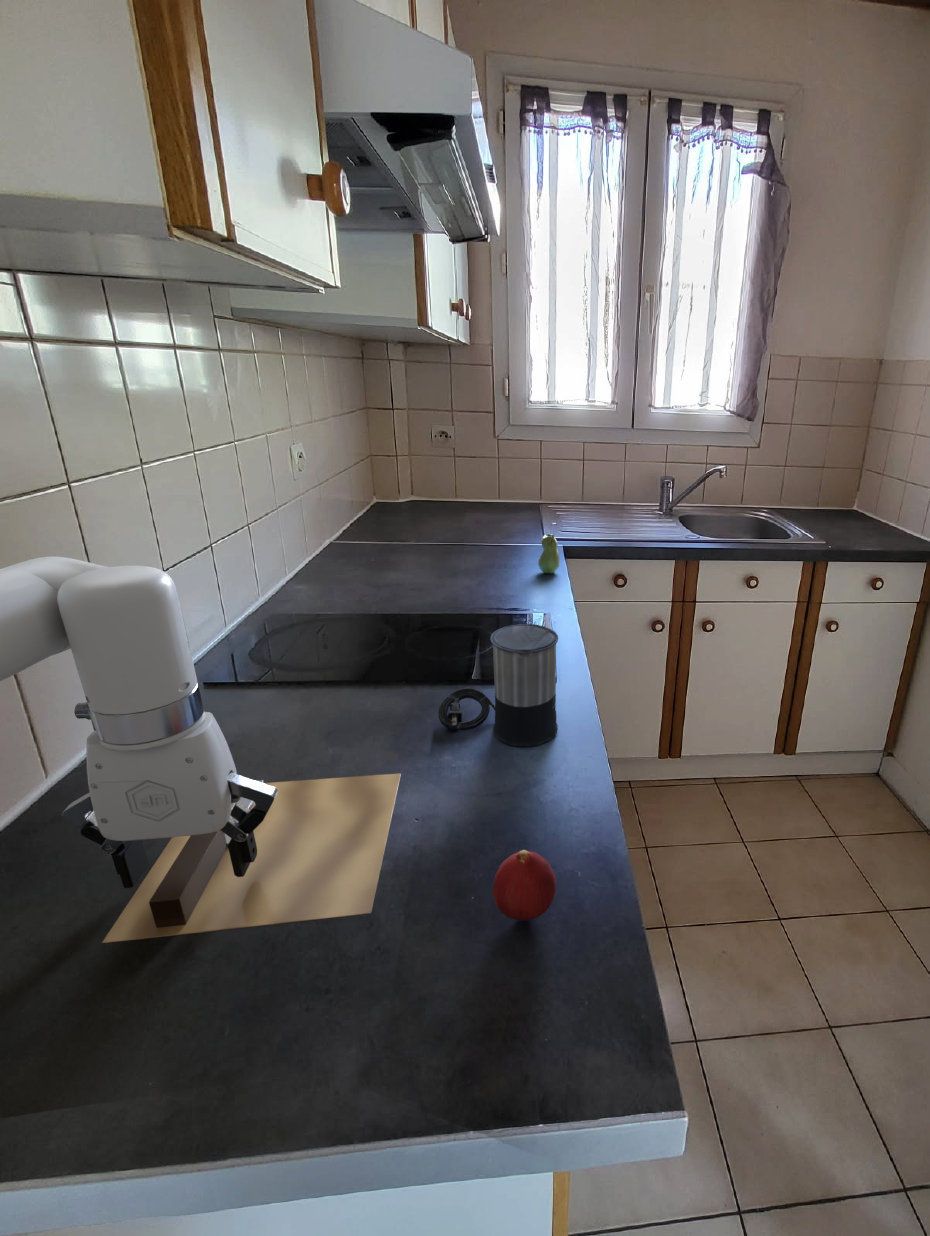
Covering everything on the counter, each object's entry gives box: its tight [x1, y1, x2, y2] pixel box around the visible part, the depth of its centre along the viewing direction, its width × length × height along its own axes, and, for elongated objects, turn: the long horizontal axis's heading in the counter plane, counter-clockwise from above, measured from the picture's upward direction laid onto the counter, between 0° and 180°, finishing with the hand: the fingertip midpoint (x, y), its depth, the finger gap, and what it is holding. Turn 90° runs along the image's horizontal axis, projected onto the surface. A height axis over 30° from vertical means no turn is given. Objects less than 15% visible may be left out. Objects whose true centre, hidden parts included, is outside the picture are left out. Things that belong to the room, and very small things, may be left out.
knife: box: [149, 779, 265, 928], centre depth 66 cm, size 21×3×3 cm, turn 11°
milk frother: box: [438, 623, 559, 747], centre depth 90 cm, size 14×16×15 cm
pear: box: [537, 533, 560, 574], centre depth 160 cm, size 6×5×10 cm
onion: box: [492, 849, 557, 921], centre depth 60 cm, size 6×6×8 cm
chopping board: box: [101, 772, 402, 944], centre depth 67 cm, size 22×22×2 cm
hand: (192, 871), depth 60 cm, fingers open, 8 cm apart
